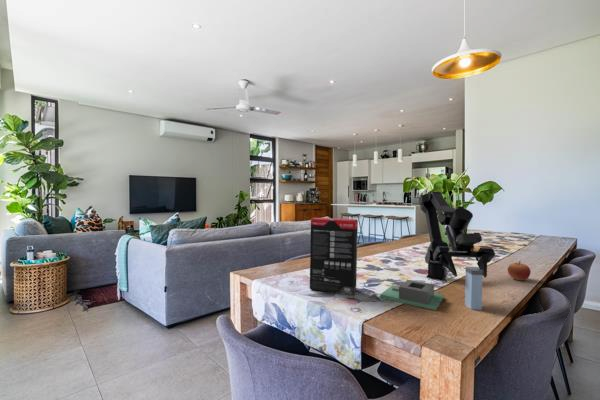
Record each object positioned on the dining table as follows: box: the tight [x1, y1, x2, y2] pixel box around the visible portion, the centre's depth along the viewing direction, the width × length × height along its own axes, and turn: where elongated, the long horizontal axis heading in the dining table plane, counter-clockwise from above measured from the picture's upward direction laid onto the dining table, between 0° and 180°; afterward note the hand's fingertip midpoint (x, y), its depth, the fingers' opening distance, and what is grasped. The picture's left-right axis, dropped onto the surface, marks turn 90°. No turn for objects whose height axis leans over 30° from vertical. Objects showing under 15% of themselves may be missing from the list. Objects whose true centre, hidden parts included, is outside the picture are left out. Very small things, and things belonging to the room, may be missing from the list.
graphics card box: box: [309, 217, 359, 296], centre depth 108 cm, size 17×7×27 cm, turn 71°
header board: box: [379, 279, 445, 311], centre depth 101 cm, size 18×13×5 cm
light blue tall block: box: [464, 266, 484, 311], centre depth 93 cm, size 3×4×12 cm
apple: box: [507, 260, 532, 281], centre depth 124 cm, size 8×8×8 cm
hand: (470, 276), depth 95 cm, fingers open, 9 cm apart
